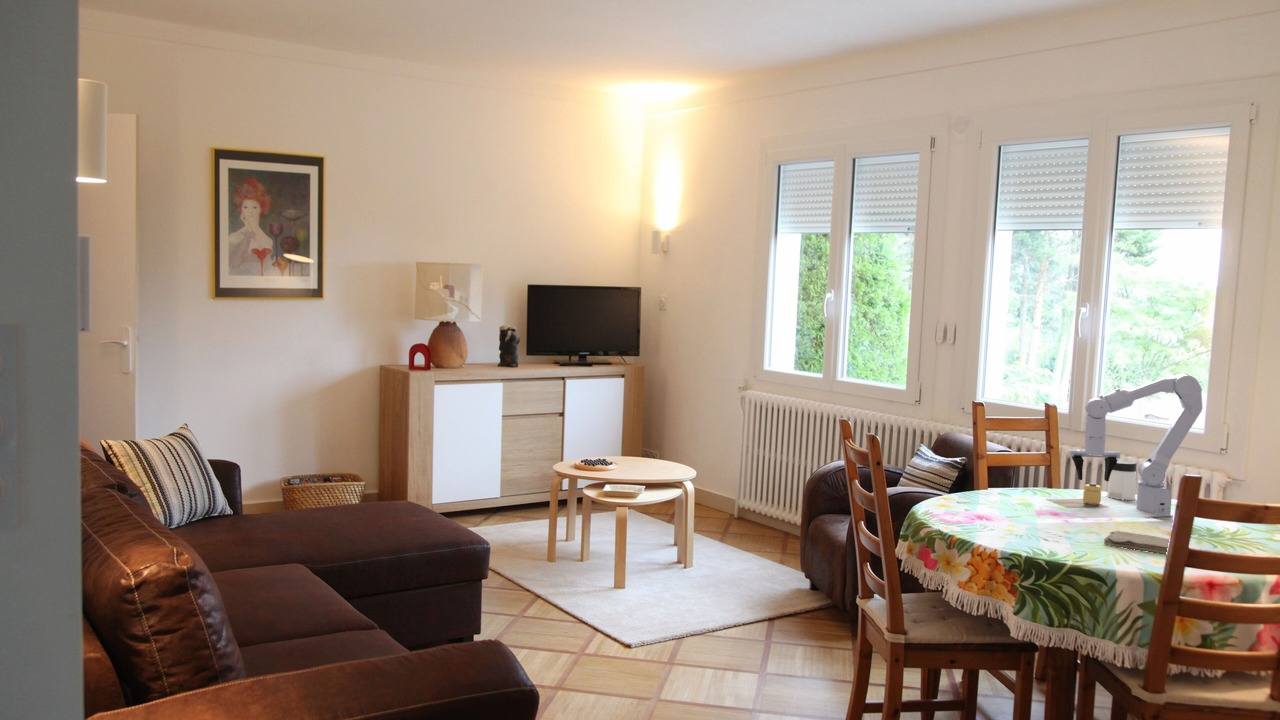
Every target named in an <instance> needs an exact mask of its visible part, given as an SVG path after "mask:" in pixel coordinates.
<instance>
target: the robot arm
mask: <svg viewBox="0 0 1280 720" xmlns="http://www.w3.org/2000/svg"><path fill="white" fill-rule="evenodd" d="M1202 391H1203V389H1202V386H1201V385H1200V383H1199V380H1198V379H1197V378H1196V377H1195V376H1192V375H1189V374H1187V373H1177V374H1175V375H1169V376H1166V377H1161V378H1159V379H1157V380H1155V381H1154V380H1153V381H1152V382H1148V383H1146V384H1144V385H1141V386H1139V387H1136V388H1134V389H1131V390H1128V389H1126V388H1121V389H1120V388H1116V389H1114V391H1112V392H1109V393H1107V394H1104V395H1103V394H1099V396H1098V397H1099V398H1096V397H1094V398H1091V399H1089V400H1088V401H1087V403H1086V404H1085V407H1084V408H1085V412H1086V417H1085V419H1086V421H1085V428H1084V429H1085V432H1084V433H1085V434H1084V435H1085V436H1084V449H1069V450H1068V456H1069V457H1071V459H1072V461H1073V464H1074V466H1075V469H1076V474H1077V479H1078V480H1079V481H1083V475H1084V474H1083V469H1084V468H1083V467H1084V461H1085V460H1084V459H1083V458H1084V457H1085V458H1104V479H1103V480H1104V481H1105V482H1108V481H1109V477H1110V474H1111V472H1112V470H1113V468H1114V466H1115V465H1116V463H1117V460H1121V452H1120V451H1114V450H1106V432H1107V431H1106V429H1107V422H1106V416H1107V415H1108V413H1109V414H1110V413H1115V412H1117V411H1121V410H1123V409H1126V408H1130V407H1132V406H1133V403H1134V402H1135V401H1136V400H1139V399H1142V398H1147V397H1149V396H1153V395H1156V394H1158V393H1161V392H1163V393H1167V394H1168V393H1169V394H1176V395H1177V396H1178V399H1179V401H1180V404H1181V406H1182V407H1181V409H1180V411H1179V412H1178V414H1177V415H1176V417H1175V418H1174V420H1173V421H1172V423H1171V424H1170V426H1169V428H1168V429H1167V431H1166V433H1165V434H1164V435H1163V437H1162V439H1161V440H1160V441H1159V444H1158V445H1157V447H1156V448H1155V450H1154V451H1153V452H1152V453H1151V454H1150V455H1149V457H1148V458H1147V459H1146V460H1144V461H1143V462H1141V463H1140V465H1139V466H1138V469H1137V471H1138V474H1139V476H1140V478H1139V480H1137V488H1136V489H1137V492H1136V509H1137V510H1139V511H1144V512H1147V513H1151V514H1154V515H1155V514H1156V515H1158V516H1161V517H1173V516H1174V515H1173V514H1172V511H1171V510H1172V494H1171V492H1170V490H1169V489H1168V488H1166V487H1165V482H1164V481H1165V479H1166V472H1167V469H1168V468H1169V465H1170V463H1171V459H1172V458H1173V456H1174V455H1175V453H1176V452H1177V451H1178V448H1179V447H1180V446H1181V444H1182V442H1183V440H1184V439H1185V438H1186V436H1187V435H1188V433H1189V431H1190V430H1191V429H1192V427H1193V425H1194V424H1195V422H1196V421H1197V419H1198V417H1200V414H1201V413H1202V411H1203V397H1202ZM1171 514H1172V516H1171Z"/></svg>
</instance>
